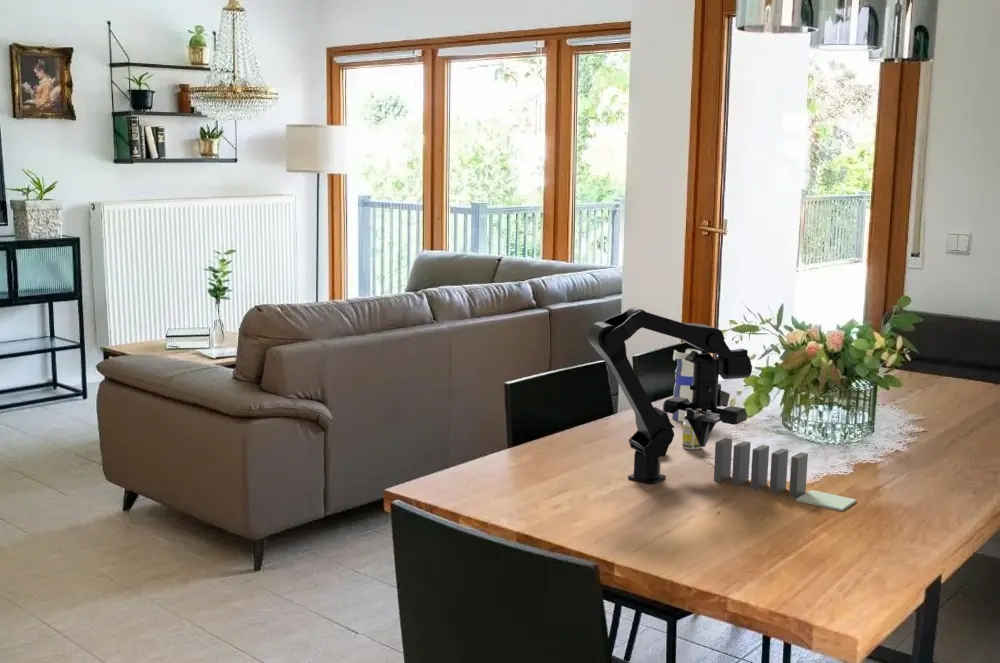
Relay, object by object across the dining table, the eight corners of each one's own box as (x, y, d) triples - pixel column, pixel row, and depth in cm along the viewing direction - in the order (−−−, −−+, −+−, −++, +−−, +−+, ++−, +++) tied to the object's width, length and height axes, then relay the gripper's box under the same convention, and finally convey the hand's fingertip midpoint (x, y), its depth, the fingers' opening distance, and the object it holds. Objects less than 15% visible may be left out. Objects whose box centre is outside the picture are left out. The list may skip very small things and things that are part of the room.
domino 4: (785, 488, 231) (788, 449, 229) (776, 494, 227) (778, 454, 226) (779, 487, 232) (781, 448, 230) (769, 492, 228) (771, 453, 226)
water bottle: (663, 416, 294) (666, 329, 290) (688, 413, 298) (692, 327, 294) (680, 423, 287) (683, 334, 283) (705, 420, 290) (709, 332, 286)
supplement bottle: (700, 445, 265) (701, 413, 264) (702, 450, 261) (703, 417, 259) (681, 444, 266) (682, 412, 264) (682, 449, 261) (684, 417, 260)
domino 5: (805, 493, 228) (807, 453, 227) (796, 498, 224) (798, 458, 223) (798, 491, 229) (800, 452, 228) (788, 497, 225) (791, 457, 224)
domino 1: (730, 476, 239) (732, 438, 238) (720, 481, 235) (722, 443, 234) (724, 475, 240) (725, 437, 239) (713, 480, 236) (715, 442, 235)
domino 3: (767, 484, 234) (769, 446, 232) (757, 490, 230) (759, 450, 228) (760, 483, 235) (762, 444, 233) (750, 488, 231) (752, 449, 229)
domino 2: (748, 480, 236) (750, 442, 235) (738, 485, 233) (740, 446, 231) (742, 479, 237) (743, 441, 236) (731, 484, 234) (733, 445, 232)
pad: (842, 511, 216) (842, 509, 216) (796, 500, 223) (796, 498, 223) (856, 501, 223) (856, 499, 222) (811, 492, 229) (811, 489, 229)
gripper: (759, 380, 238) (755, 446, 240) (686, 369, 249) (683, 432, 252) (737, 388, 229) (733, 456, 232) (662, 376, 241) (660, 442, 243)
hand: (702, 446), depth 240 cm, fingers closed
